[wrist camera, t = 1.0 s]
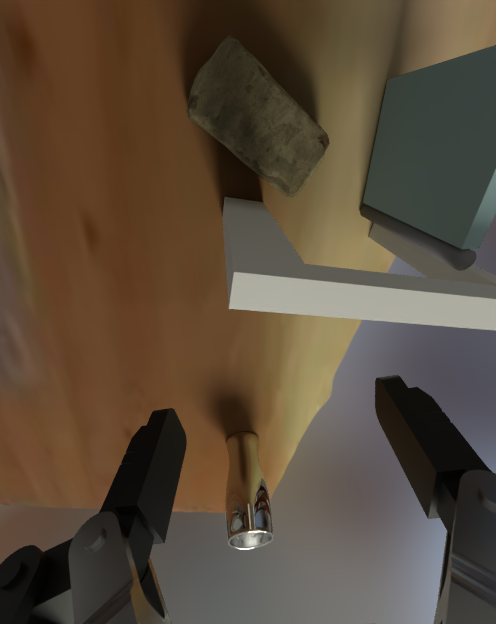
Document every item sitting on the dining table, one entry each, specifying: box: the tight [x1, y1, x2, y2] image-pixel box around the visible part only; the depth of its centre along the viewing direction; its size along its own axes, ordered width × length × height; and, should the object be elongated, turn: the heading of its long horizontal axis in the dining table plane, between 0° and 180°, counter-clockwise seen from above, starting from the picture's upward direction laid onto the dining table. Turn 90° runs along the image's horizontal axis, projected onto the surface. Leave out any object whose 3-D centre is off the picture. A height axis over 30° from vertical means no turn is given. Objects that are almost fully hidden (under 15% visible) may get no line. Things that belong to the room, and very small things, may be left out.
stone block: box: [187, 35, 329, 197], centre depth 23 cm, size 6×12×5 cm, turn 55°
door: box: [360, 45, 496, 271], centre depth 21 cm, size 12×1×14 cm, turn 1°
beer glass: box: [225, 432, 274, 550], centre depth 45 cm, size 7×7×15 cm
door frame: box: [223, 197, 496, 330], centre depth 22 cm, size 18×2×18 cm, turn 81°
